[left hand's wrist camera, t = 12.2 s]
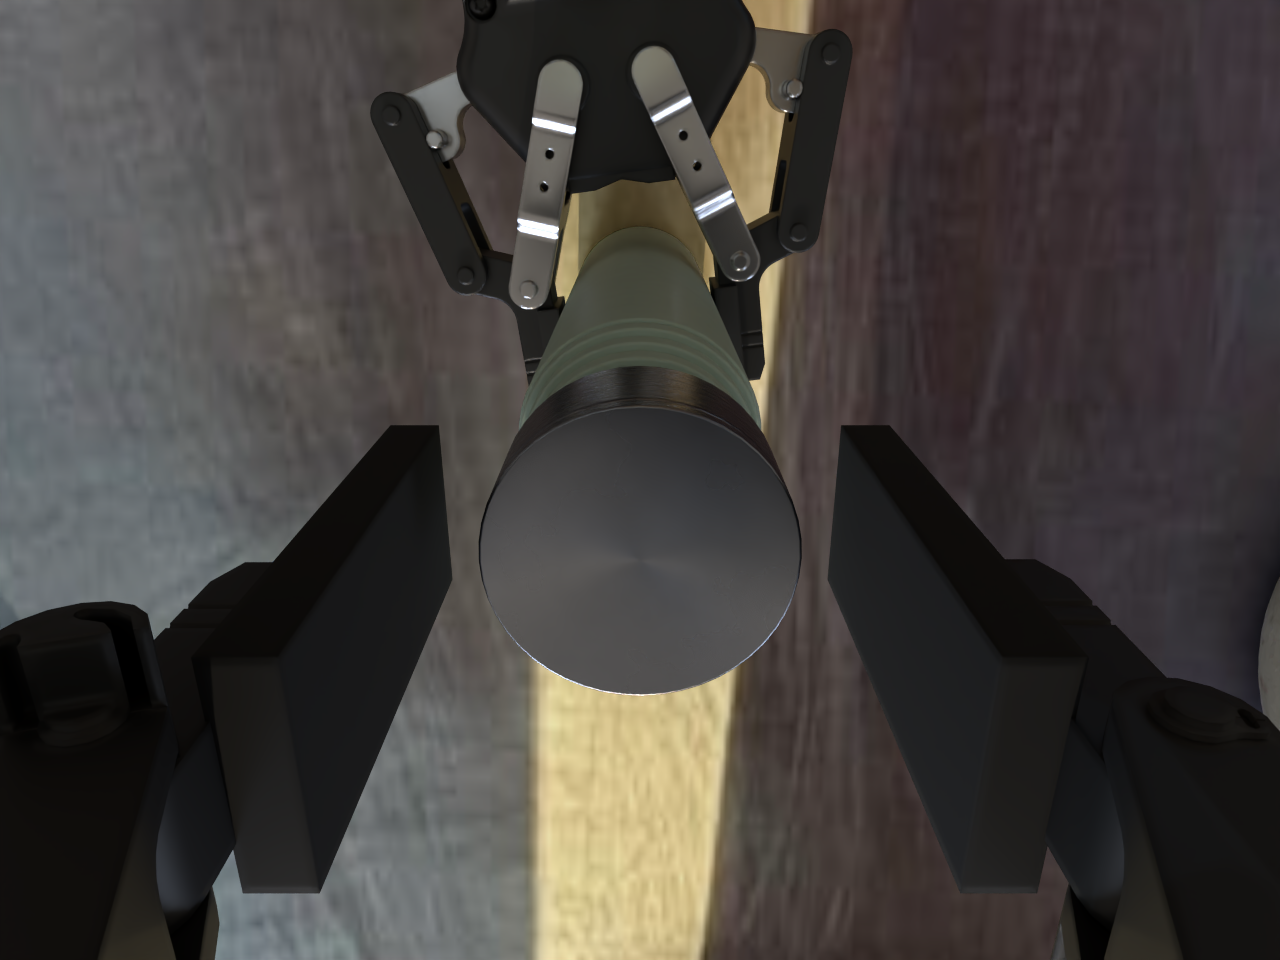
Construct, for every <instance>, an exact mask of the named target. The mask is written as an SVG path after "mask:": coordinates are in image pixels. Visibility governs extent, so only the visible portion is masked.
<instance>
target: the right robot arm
mask: <svg viewBox="0 0 1280 960" xmlns="http://www.w3.org/2000/svg"><path fill="white" fill-rule="evenodd" d="M462 1H463V8H464V17H465V24H464V35H463V41H462V45H461V48H460V51H459V54H458V58H457V71H455V72H453V73H450V74H448V75H446V76H444V77H441V78H439V79H437V80H435V81H433V82H430V83H428V84H426V85H424V86H422V87H419V88H417V89H415V90H413V91H410V92H408V93H405V94H401V93H395V92H385V93H382V94H380V95H379V96H377V97H376V98H375V100H374V101H373V103H372V106H371V112H370V114H371V120H372V123H373V125H374V127H375V129H376V131H377V133H378V136H379V138H380V140H381V142H382V144H383V146H384V148H385V150H386V153H387V155H388V157H389V159H390V161H391V163H392V165H393V167H394V170H395V172H396V174H397V176H398V178H399V180H400V182H401V184H402V187H403V189H404V191H405V193H406V195H407V197H408V199H409V201H410V203H411V206H412V208H413V210H414V212H415V214H416V216H417V218H418V220H419V223H420V225H421V227H422V229H423V231H424V233H425V235H426V237H427V240H428V242H429V244H430V246H431V248H432V250H433V252H434V254H435V257H436V259H437V261H438V263H439V265H440V267H441V269H442V271H443V274H444V276H445V278H446V280H447V282H448V284H449V286H450V287H451V288H452V289H453V290H454V291H455V292H457V293H459V294H461V295H466V296H469V295H474V294H476V295H481V296H485V297H490V298H494V299H498V300H501V301H503V302H504V303H506V304H507V305H508V306H509V307H510V308H511V309H512V310H513V312H514V313H515V316H516V319H517V323H518V329H519V334H520V340H521V345H522V351H523V356H524V361H525V367H526V373H527V378H528V384H529V385H530V383H531V381H532V379H533V376H534V374H535V372H536V370H537V367H538V365H539V363H540V361H541V358H542V356H543V354H544V352H545V349H546V347H547V345H548V343H549V340H550V338H551V336H552V334H553V331H554V329H555V327H556V325H557V322H558V320H559V318H560V315H561V313H562V311H563V309H564V306H565V298H564V296H562V297H557V292H556V286H555V281H556V276H557V270H558V264H559V259H560V253H561V247H562V242H563V236H564V231H565V227H566V223H567V218H568V213H569V208H570V202H571V197H572V194H573V193H581V192H588V191H595V190H598V189H600V188H602V187H605V186H607V185H609V184H611V183H614V182H616V181H618V180H622V179H623V180H631V181H638V182H645V183H653V182H660V181H668V180H675V177H676V178H677V180H678V182H679V184H680V186H681V188H682V190H683V193H684V195H685V197H686V199H687V201H688V203H689V205H690V207H691V209H692V211H693V213H694V215H695V218H696V220H697V222H698V224H699V226H700V228H701V230H702V232H703V235H704V237H705V239H706V241H707V243H708V245H709V247H710V250H711V252H712V254H713V259H714V270H715V277H710V278H709V283H710V293H711V296H712V299H713V301H714V303H715V305H716V308H717V310H718V312H719V314H720V317H721V319H722V321H723V323H724V326H725V328H726V330H727V332H728V335H729V337H730V339H731V342H732V344H733V346H734V348H735V351H736V353H737V355H738V357H739V360H740V362H741V364H742V366H743V369H744V371H745V373H746V375H747V378H748V380H749V381H751V380H758V379H760V377H761V374H762V371H763V368H764V365H765V358H764V347H763V334H762V321H761V309H760V296H759V282H760V279H761V276H762V274H763V273H764V271H765V270H766V269H767V268H768V267H769V266H770V265H771V264H773V263H775V262H776V261H778V260H780V259H782V258H784V257H786V256H788V255H790V254H792V253H801V252H804V251H807V250H809V249H810V248H811V247H812V246H813V245H814V244H815V242H816V241H817V239H818V235H819V230H820V225H821V220H822V214H823V209H824V204H825V198H826V193H827V187H828V182H829V177H830V171H831V166H832V161H833V155H834V150H835V145H836V139H837V134H838V129H839V123H840V118H841V113H842V107H843V102H844V97H845V91H846V86H847V80H848V75H849V70H850V64H851V59H852V44H851V42H850V40H849V38H848V37H847V35H846V34H844V33H843V32H842V31H840V30H836V29H828V30H825V31H822V32H819V33H817V34H813V35H811V34H803V33H795V32H788V31H780V30H773V29H765V28H758V27H755V24H754V21H753V19H752V16H751V14H750V13H749V11H748V9H747V8H746V6H745V5H744V3H743V1H742V0H462ZM748 66H752V67H755V68H756V69H758V70H759V71H760V72H761V74H762V75H763V77H764V80H765V84H766V98H767V101H768V103H769V105H770V106H771V107H772V108H773V109H774V110H775V111H777V112H780V113H785V118H784V124H783V130H782V136H781V142H780V148H779V155H778V161H777V167H776V173H775V179H774V185H773V191H772V197H771V203H770V209H769V213H768V214H766V215H764V216H762V217H760V218H759V219H757V220H755V221H753V222H751V223H749V224H747V225H746V223H745V221H744V218H743V216H742V214H741V212H740V209H739V207H738V205H737V203H736V200H735V198H734V194H733V192H732V189H731V187H730V184H729V182H728V180H727V178H726V175H725V173H724V171H723V169H722V167H721V164H720V162H719V160H718V158H717V155H716V153H715V151H714V149H713V146H712V144H711V142H710V138H711V136H712V134H713V132H714V130H715V128H716V126H717V124H718V123H719V121H720V119H721V117H722V115H723V113H724V111H725V109H726V108H727V106H728V104H729V102H730V100H731V98H732V96H733V94H734V93H735V91H736V89H737V87H738V85H739V83H740V81H741V79H742V78H743V76H744V74H745V72H746V70H747V68H748ZM471 106H473V107H474V108H475V109H476V110H477V111H478V112H479V113H480V114H481V115H482V116H483V117H484V118H485V119H486V121H487V122H488V123H489V124H490V125H491V126H492V127H493V128H494V129H495V130H496V131H497V132H498V133H499V134H500V136H501V137H502V138H503V139H504V140H505V141H506V142H507V143H508V144H509V145H510V146H511V147H512V148H513V149H514V150H515V152H516V153H517V154H518V155H519V156H520V157H521V158H522V159H523V160H524V161H525V162H526V168H525V174H524V180H523V187H522V193H521V199H520V206H519V212H518V221H517V225H518V230H517V237H516V243H515V250H514V255H510V254H506V253H502V252H497V251H493V249H492V246H491V244H490V242H489V240H488V237H487V235H486V233H485V231H484V228H483V226H482V224H481V222H480V219H479V217H478V215H477V213H476V210H475V208H474V206H473V204H472V201H471V199H470V197H469V195H468V192H467V190H466V188H465V186H464V184H463V181H462V179H461V177H460V175H459V172H458V170H457V168H456V166H455V163H454V161H453V160H454V159H456V158H457V157H459V156H460V155H461V154H462V152H463V150H464V148H465V144H466V139H465V134H464V130H463V118H464V115H465V113H466V111H467V110H468V109H469V108H470V107H471ZM693 165H694V166H693Z"/></svg>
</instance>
